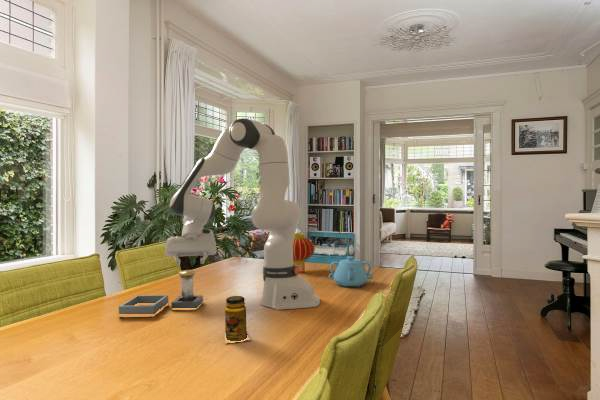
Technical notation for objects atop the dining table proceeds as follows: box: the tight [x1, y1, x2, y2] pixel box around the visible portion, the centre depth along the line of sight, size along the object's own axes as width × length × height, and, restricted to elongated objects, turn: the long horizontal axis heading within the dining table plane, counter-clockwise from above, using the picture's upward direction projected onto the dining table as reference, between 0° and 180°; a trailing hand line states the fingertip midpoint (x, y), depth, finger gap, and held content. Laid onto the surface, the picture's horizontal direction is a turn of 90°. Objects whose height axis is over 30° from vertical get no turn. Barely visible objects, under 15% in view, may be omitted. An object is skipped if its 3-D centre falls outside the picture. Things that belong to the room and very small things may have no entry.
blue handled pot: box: [328, 255, 373, 288], centre depth 172 cm, size 20×20×13 cm
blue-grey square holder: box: [170, 294, 204, 309], centre depth 144 cm, size 9×9×3 cm
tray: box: [118, 294, 169, 315], centre depth 139 cm, size 12×14×4 cm
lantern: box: [293, 232, 316, 274], centre depth 202 cm, size 17×17×30 cm
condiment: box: [224, 295, 249, 341], centre depth 112 cm, size 7×8×12 cm
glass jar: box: [178, 269, 196, 301], centre depth 144 cm, size 6×6×13 cm
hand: (190, 263), depth 153 cm, fingers open, 8 cm apart
